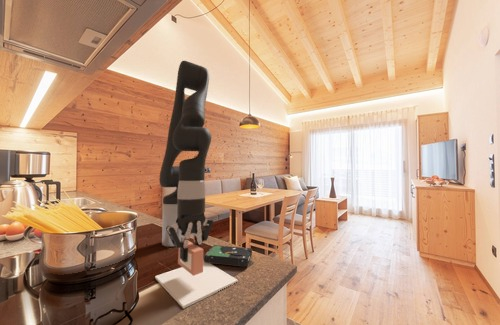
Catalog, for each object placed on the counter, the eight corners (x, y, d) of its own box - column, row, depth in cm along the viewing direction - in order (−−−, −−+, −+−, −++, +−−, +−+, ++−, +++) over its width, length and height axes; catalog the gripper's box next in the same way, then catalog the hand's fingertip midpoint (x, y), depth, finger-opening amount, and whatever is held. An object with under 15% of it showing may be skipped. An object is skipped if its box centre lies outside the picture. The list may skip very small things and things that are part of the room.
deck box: (203, 272, 54) (203, 249, 54) (193, 275, 52) (193, 252, 52) (187, 260, 60) (187, 240, 61) (177, 263, 58) (178, 242, 59)
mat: (155, 278, 58) (155, 276, 58) (203, 261, 69) (203, 259, 69) (183, 308, 45) (183, 305, 45) (237, 282, 56) (237, 280, 56)
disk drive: (252, 255, 74) (213, 252, 77) (252, 248, 75) (213, 244, 77) (247, 268, 64) (203, 263, 66) (248, 258, 64) (203, 254, 67)
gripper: (172, 200, 50) (171, 272, 49) (219, 195, 59) (219, 256, 58) (161, 197, 55) (159, 262, 54) (205, 194, 65) (205, 249, 64)
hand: (190, 258), depth 56 cm, fingers closed on deck box, 3 cm apart
